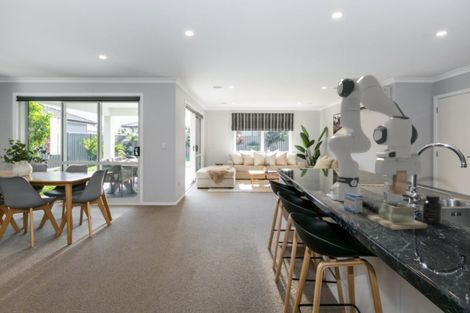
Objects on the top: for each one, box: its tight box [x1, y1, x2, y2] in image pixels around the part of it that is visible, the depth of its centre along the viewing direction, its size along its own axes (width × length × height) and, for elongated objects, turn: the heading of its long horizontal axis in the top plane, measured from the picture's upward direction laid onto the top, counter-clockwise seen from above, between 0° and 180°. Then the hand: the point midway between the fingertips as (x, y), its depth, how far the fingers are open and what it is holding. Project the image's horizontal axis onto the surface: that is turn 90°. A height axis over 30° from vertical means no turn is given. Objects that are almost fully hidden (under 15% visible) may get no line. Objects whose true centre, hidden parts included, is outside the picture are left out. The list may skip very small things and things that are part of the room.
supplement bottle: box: [422, 194, 443, 225], centre depth 120 cm, size 7×7×12 cm
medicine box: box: [343, 193, 364, 214], centre depth 138 cm, size 8×4×9 cm, turn 23°
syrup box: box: [382, 181, 400, 203], centre depth 139 cm, size 6×6×14 cm
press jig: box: [366, 201, 428, 231], centre depth 119 cm, size 16×16×8 cm
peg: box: [389, 171, 407, 195], centre depth 118 cm, size 4×4×10 cm
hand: (397, 185), depth 118 cm, fingers closed on peg, 4 cm apart
